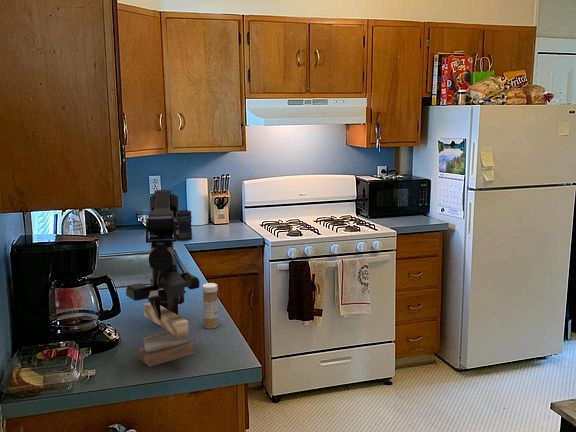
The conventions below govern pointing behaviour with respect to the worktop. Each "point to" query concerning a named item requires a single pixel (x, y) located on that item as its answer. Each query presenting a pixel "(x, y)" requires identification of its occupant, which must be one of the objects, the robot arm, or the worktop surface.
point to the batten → (167, 320)
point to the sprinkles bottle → (210, 305)
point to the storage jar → (184, 225)
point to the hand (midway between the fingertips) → (165, 317)
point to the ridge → (164, 348)
